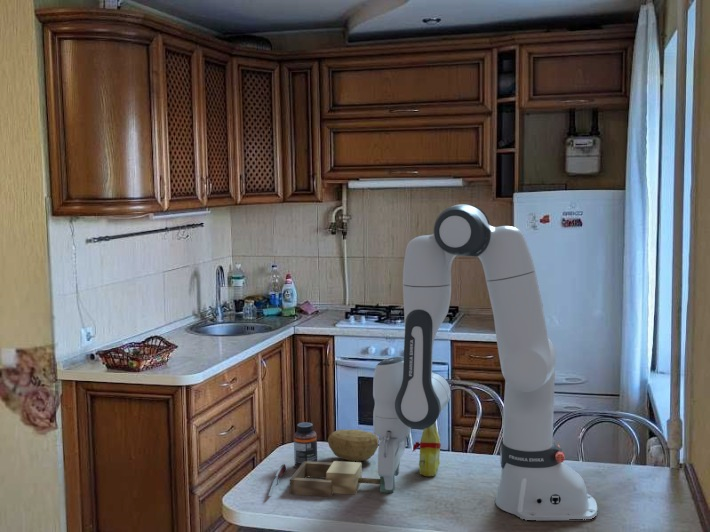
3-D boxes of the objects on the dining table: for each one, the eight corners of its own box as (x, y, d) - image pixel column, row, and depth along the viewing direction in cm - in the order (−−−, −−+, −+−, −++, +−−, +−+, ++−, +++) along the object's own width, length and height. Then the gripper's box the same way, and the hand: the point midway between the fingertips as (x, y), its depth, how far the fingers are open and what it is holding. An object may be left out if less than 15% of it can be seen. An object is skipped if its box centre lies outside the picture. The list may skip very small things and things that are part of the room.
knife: (282, 471, 210) (281, 460, 210) (287, 471, 210) (286, 460, 209) (266, 502, 190) (265, 490, 189) (271, 503, 190) (271, 490, 189)
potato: (337, 451, 224) (337, 422, 224) (384, 458, 218) (384, 428, 218) (320, 462, 216) (320, 432, 215) (369, 469, 210) (369, 439, 209)
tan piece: (342, 476, 205) (342, 463, 204) (331, 496, 192) (330, 482, 192) (304, 474, 207) (304, 460, 206) (289, 493, 194) (289, 479, 194)
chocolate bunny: (442, 463, 214) (442, 407, 212) (437, 478, 203) (437, 419, 201) (416, 461, 215) (416, 406, 214) (410, 476, 205) (409, 418, 203)
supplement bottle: (305, 461, 217) (304, 419, 215) (322, 466, 213) (321, 423, 212) (289, 467, 212) (288, 424, 211) (306, 472, 208) (305, 429, 207)
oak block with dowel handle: (396, 484, 200) (395, 464, 199) (391, 496, 192) (390, 476, 191) (334, 480, 203) (333, 461, 202) (326, 492, 195) (326, 472, 194)
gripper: (398, 439, 183) (398, 499, 185) (410, 413, 203) (410, 467, 205) (370, 438, 185) (371, 497, 186) (385, 412, 205) (386, 466, 206)
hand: (392, 481), depth 196 cm, fingers open, 8 cm apart
